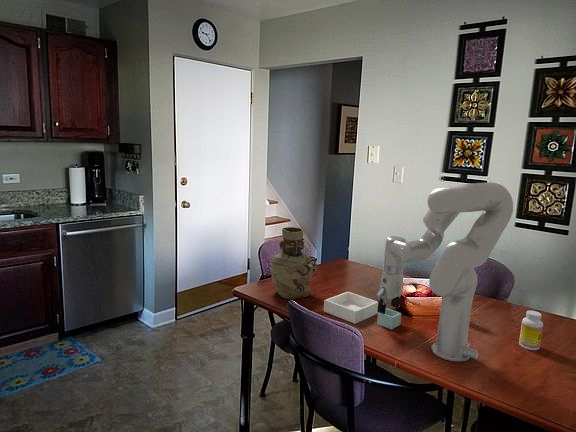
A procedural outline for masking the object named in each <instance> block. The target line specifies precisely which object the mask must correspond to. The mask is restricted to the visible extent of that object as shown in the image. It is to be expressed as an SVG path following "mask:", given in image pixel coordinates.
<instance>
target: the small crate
mask: <svg viewBox="0 0 576 432" xmlns="http://www.w3.org/2000/svg"><path fill="white" fill-rule="evenodd" d="M401 322H402V313H401V312H399V311H396V310H393V309H390V308H387V307H386V311H385V314H381V313H379V312H378V314H377V319H376V324H377V325H378V326H381V327H384V328H387V329H389V330H393V329H395V328H397V327H399V326H401Z"/></svg>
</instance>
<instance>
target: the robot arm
mask: <svg viewBox="0 0 576 432" xmlns="http://www.w3.org/2000/svg"><path fill="white" fill-rule="evenodd" d="M427 205H428V208H429V210H428V211H427V212H426V213H425V215H424V216H423V218H422V222H423V224H424V226H425V227H426V228H427V229H426V231H425V232H424V234H423V235H422V236H421V237H420V238H419V239H417V240H410V241H407V240H406V239H405V237H402V236H398V235H396V236H395V235H390V236H387V238H386V240H385V245H384V247H385V248H384V253H383V256H384V257H383V265H382V275H381V280H380V283H379V284H380V285H379V291H378V292H377V293H376V301H377V302H378V310H377V311H378V312H379V313H381V314H385V311H386V308H387V304H386V303H387V302H388V300H391V302H390V306H392V307H393V308H397V309H398V308H399V307H400V300H401V299H400V298H401V295H402V294H403V288H404V263H405V264H406V263H407V264H410V263H415V262H418V261H424V260H427V259H428V258H430V257H431V256H432V255H434V253H435V252H436V251H437V249H439V247H440V246H441V244H442V243H443V240H444V237H445V231H446V230H447V229H448V228H449V227H450V225H451V224H452V223H453V221H454V220H455V219H456V218H457V217H458V216H459V215H460V213H461V214H462V213H474V212H482V213H481V214H480V215H479V217H477V219H476V220H475V221H474V222H473V224H472V227H471V228H470V229H469V231H468V233H467V235H466V236H465V237H463V238H460V239H456V240H452V241H451V242H450V243H448V244H447V245H446V246H445V247H444V249H442V251H441V254H440V256H439V258H438V259H437V261H436V263H435V265H434V267H433V268H432V271H431V272H430V276H429V280H428V282H429V287H430V290H431V292H432V294H433V293H434V294H436V295H437V296H440V297H442V302H441V303H440V310H439V318H438V328H437V329H438V330H437V336H436V337H437V339H436V342H433V344H432V345H431V351H432V353H433V354H434V355H435V356H437V357H438V358H440V359H443V360H446V361H450V362H456V363H457V362H466V361H468V360H470V358H472V359H475V360H477V359H478V358H479V353H478V350H476V349H473V348H471V347H470V345H471V343H470V342H468V338H469V337H468V336H469V328H470V321H471V312H472V306H473V300H474V296H475V293H476V289H477V285H478V275H477V272H476V270H475V269H474V268H477V267H481V266H482V265H484V264H485V263H486V262H487V260H488V258H489V257H490V255H491V253H493V250H494V249H495V247H496V245H497V243H498V242H499V241H500V238H501V236H502V234H503V232H504V231H505V230H506V228H507V226H508V225H509V223H510V221H511V218H512V215H513V211H514V200H513V197H512V195H511V192H510V191H509V190H508V189H507V188H506V187H505V186H503V184H500V183H496V182H476V183H466V184H465V183H464V184H458V185H452V186H451V185H450V186H441V187H437V188H434V189H433V190H431V192H430V193H429V195H428V197H427Z"/></svg>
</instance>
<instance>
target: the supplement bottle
mask: <svg viewBox="0 0 576 432" xmlns="http://www.w3.org/2000/svg"><path fill="white" fill-rule="evenodd" d="M525 314H526V315H525V316H526V317H524V318H522V321H521V327H520V335H519V341H518V344H519V346H520V347H521V348H523V349H526V350H530V351H538V350H540V349H541V341H542V335H543V330H544V322H543V321H542V320H541V319H542V315H543V314H542V313H540V312H538V311H535V310H526V313H525Z"/></svg>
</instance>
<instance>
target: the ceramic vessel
mask: <svg viewBox="0 0 576 432" xmlns="http://www.w3.org/2000/svg"><path fill="white" fill-rule="evenodd" d="M281 234H282V238H283V239H282V240H281V241H280V242H279V249H280V250H281V251H280V252H278V253H277V254H276V255H274V256H273V258H272V261H271V265H270V273H271V280H272V284H273V288H274V289H275V292H276V293H277V294H278V295H279V296H280V297H281V298H283V299H284V300H296V299H303V298H304V299H305V298H308V296H309V295H310V282H311V281H312V278H313V277H312V276H313V273H314V274H317V269H318V264H317V263H316V262H313V261H312V259H311V257H310V256H309V255H308V254H307V253H305V252H304V251H303V250H304V249H305V242H304V240H302V239H303V236H304V229H303V228H300V227H295V226H291V227H290V226H288V227H283V228H282V229H281Z"/></svg>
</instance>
